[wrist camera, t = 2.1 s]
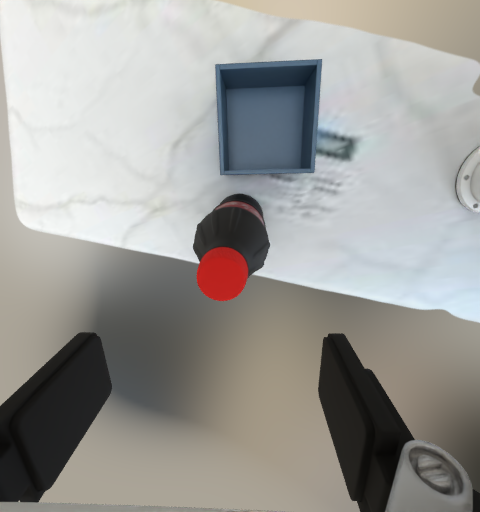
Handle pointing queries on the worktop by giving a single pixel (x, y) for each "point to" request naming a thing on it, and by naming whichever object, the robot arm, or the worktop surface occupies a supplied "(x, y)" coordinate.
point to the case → (268, 116)
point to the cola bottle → (230, 246)
